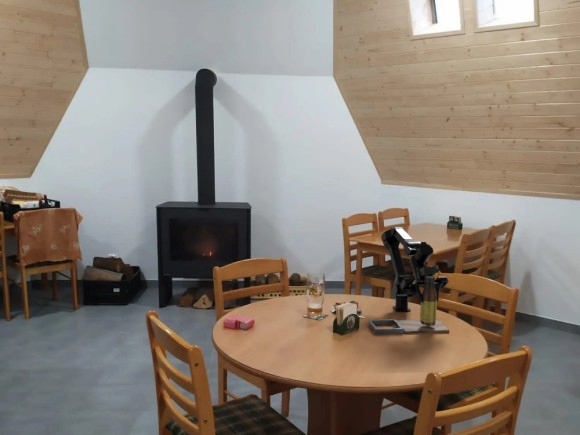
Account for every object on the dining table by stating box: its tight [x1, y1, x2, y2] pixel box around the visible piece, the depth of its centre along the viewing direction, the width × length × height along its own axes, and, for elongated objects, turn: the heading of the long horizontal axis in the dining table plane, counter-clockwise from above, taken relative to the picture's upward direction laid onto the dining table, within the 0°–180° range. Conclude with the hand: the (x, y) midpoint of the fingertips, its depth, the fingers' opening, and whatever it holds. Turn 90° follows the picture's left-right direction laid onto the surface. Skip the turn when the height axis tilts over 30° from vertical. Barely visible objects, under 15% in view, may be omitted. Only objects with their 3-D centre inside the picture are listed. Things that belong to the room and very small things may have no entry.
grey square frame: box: [368, 318, 404, 335], centre depth 205 cm, size 11×11×2 cm
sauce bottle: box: [419, 275, 438, 326], centre depth 204 cm, size 6×6×20 cm
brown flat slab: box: [395, 318, 450, 335], centre depth 207 cm, size 13×18×1 cm
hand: (430, 302), depth 202 cm, fingers closed on sauce bottle, 6 cm apart
